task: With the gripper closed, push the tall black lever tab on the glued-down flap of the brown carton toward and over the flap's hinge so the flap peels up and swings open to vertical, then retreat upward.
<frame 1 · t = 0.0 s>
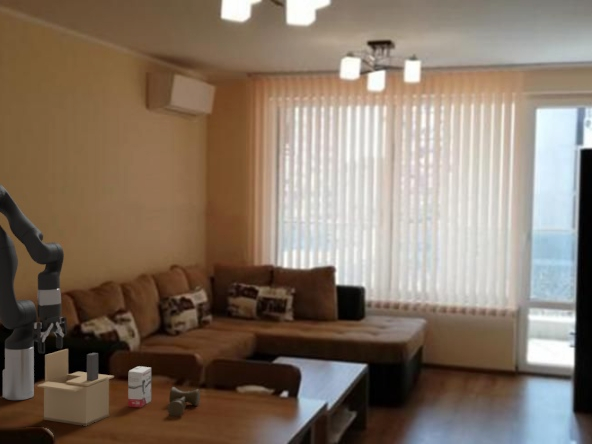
hand: (50, 350, 244), 17 cm above the table, tool pointing down, fingers open, 8 cm apart
ink box: (139, 404, 243), on the table
flap: (87, 367, 225), point 16 cm above the table, hinge at 0.0°
carton: (76, 417, 227), on the table
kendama: (182, 409, 239), on the table
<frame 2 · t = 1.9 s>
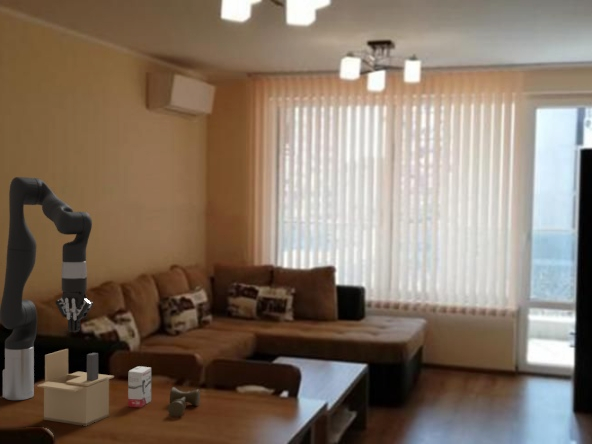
hand: (74, 331, 227), 27 cm above the table, tool pointing down, fingers closed
nothing on the table moved.
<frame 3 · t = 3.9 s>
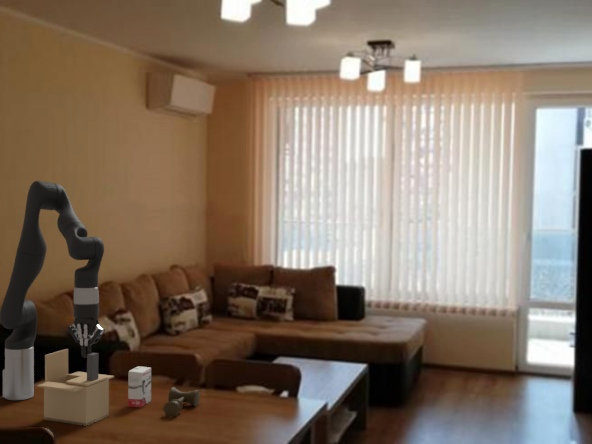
hand: (86, 357, 225), 19 cm above the table, tool pointing down, fingers closed
flap: (87, 367, 225), point 16 cm above the table, hinge at 0.6°, touching gripper
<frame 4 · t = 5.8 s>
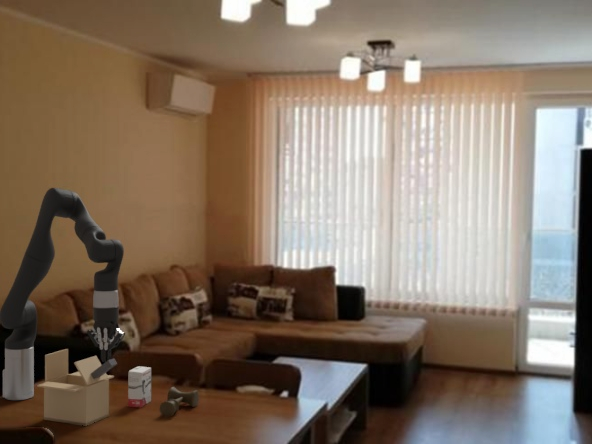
hand: (106, 361, 222), 19 cm above the table, tool pointing down, fingers closed
flap: (100, 363, 223), point 18 cm above the table, hinge at 53.6°, touching gripper
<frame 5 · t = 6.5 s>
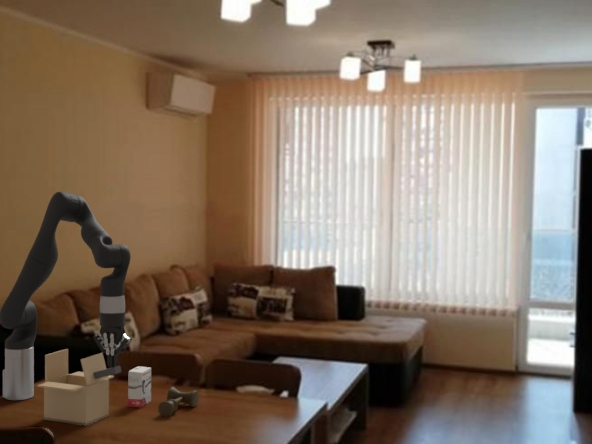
hand: (112, 366, 222), 17 cm above the table, tool pointing down, fingers closed
flap: (105, 366, 223), point 17 cm above the table, hinge at 72.9°, touching gripper
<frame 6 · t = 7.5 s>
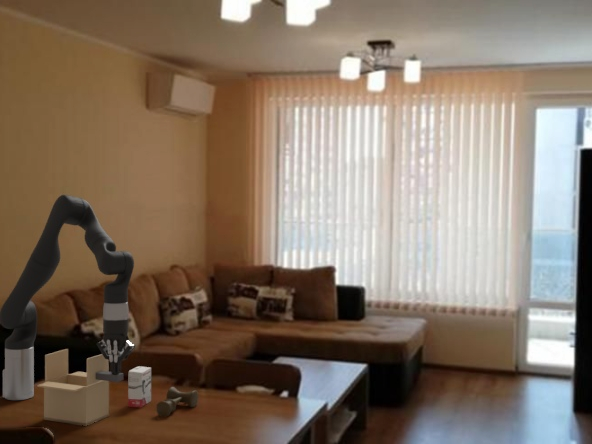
hand: (115, 373, 221), 15 cm above the table, tool pointing down, fingers closed
flap: (108, 369, 222), point 16 cm above the table, hinge at 89.9°, touching gripper
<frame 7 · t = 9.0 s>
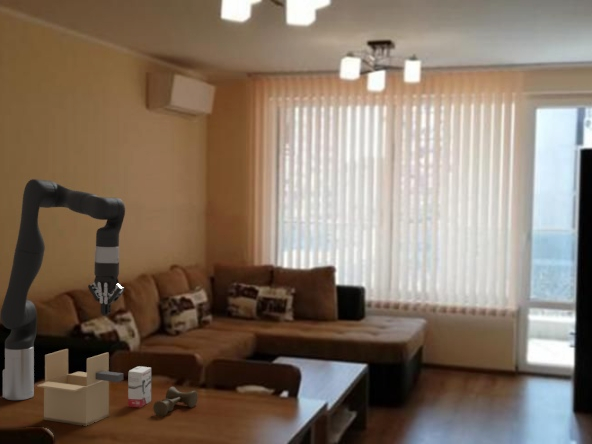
hand: (105, 315, 230), 32 cm above the table, tool pointing down, fingers closed
flap: (108, 369, 222), point 16 cm above the table, hinge at 90.0°
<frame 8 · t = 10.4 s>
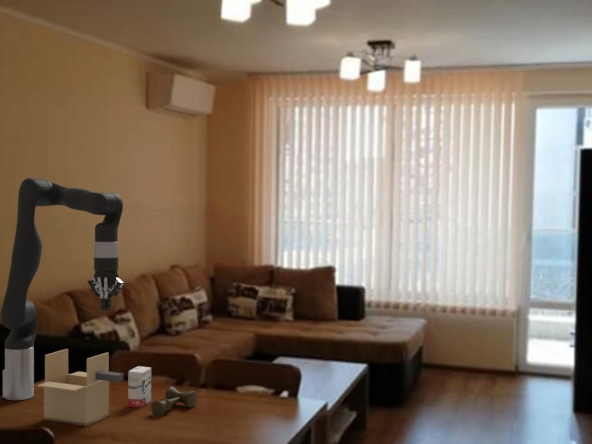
hand: (106, 310, 232), 33 cm above the table, tool pointing down, fingers closed
at the end: flap at +90° (first picture: +0°); the gripper is holding nothing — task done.
